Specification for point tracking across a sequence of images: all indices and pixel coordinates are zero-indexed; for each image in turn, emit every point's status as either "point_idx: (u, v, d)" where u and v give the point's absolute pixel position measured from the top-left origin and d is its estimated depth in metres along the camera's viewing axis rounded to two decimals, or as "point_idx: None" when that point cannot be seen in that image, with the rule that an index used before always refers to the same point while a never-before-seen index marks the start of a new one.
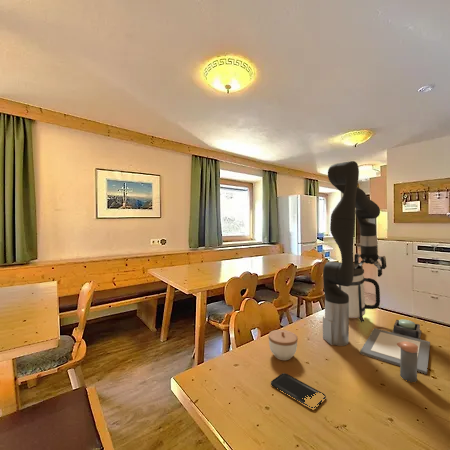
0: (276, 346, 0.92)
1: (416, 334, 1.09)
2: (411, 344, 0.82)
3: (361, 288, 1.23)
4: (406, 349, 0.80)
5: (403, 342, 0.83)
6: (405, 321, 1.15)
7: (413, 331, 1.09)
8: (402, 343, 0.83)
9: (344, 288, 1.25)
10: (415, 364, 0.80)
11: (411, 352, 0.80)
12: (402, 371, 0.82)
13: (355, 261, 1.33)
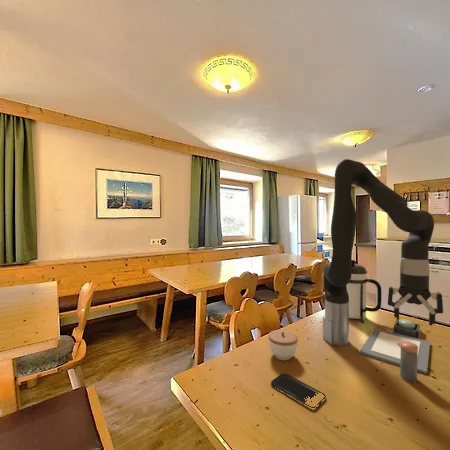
0: (276, 346, 0.92)
1: (416, 334, 1.09)
2: (411, 344, 0.82)
3: (363, 288, 1.25)
4: (406, 349, 0.80)
5: (403, 342, 0.83)
6: (405, 321, 1.15)
7: (413, 331, 1.09)
8: (402, 343, 0.83)
9: (346, 286, 1.27)
10: (415, 364, 0.80)
11: (411, 352, 0.80)
12: (402, 371, 0.82)
13: None
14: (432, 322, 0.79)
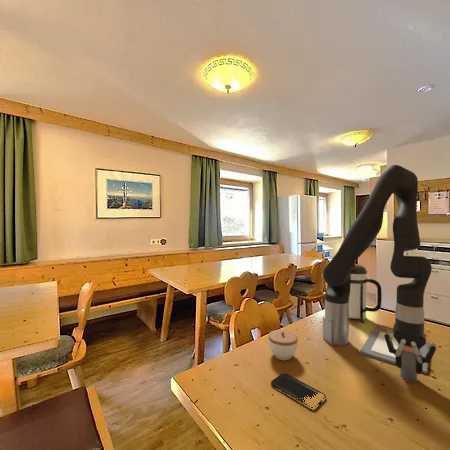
0: (276, 346, 0.92)
1: None
2: None
3: (363, 288, 1.25)
4: (406, 349, 0.80)
5: None
6: None
7: None
8: None
9: None
10: (415, 364, 0.80)
11: (411, 352, 0.80)
12: (402, 371, 0.82)
13: None
14: (419, 371, 0.80)
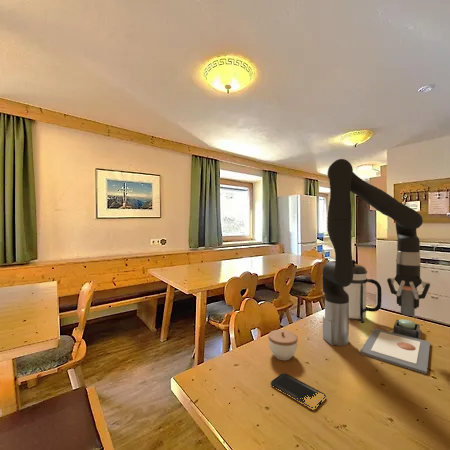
0: (276, 346, 0.92)
1: (416, 334, 1.09)
2: None
3: (363, 288, 1.25)
4: (405, 288, 0.97)
5: None
6: (405, 321, 1.15)
7: (413, 331, 1.09)
8: None
9: None
10: (413, 300, 0.96)
11: (409, 290, 0.96)
12: (402, 307, 0.98)
13: None
14: (416, 306, 0.96)
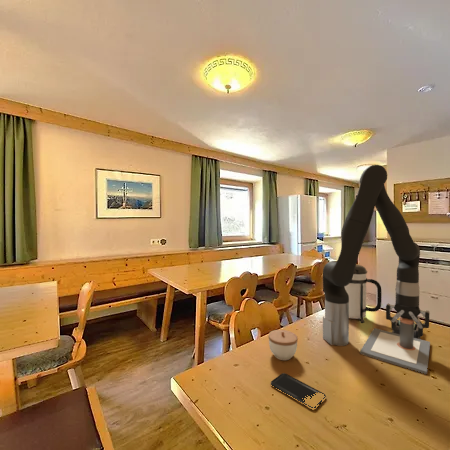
0: (276, 346, 0.92)
1: (416, 334, 1.09)
2: None
3: (363, 288, 1.25)
4: (405, 321, 0.98)
5: None
6: None
7: None
8: (401, 317, 1.00)
9: (346, 286, 1.27)
10: (412, 334, 0.98)
11: (408, 324, 0.97)
12: (401, 340, 0.99)
13: None
14: (420, 335, 0.96)
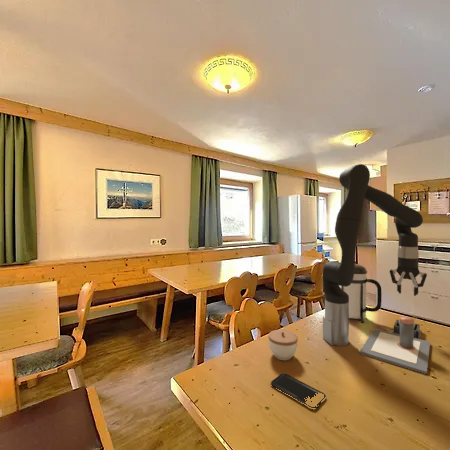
0: (276, 346, 0.92)
1: (416, 334, 1.09)
2: (408, 318, 1.00)
3: (363, 288, 1.25)
4: (404, 321, 0.98)
5: (401, 317, 1.01)
6: None
7: None
8: (401, 317, 1.00)
9: None
10: (412, 334, 0.98)
11: (408, 324, 0.97)
12: (401, 340, 0.99)
13: None
14: (416, 293, 1.11)
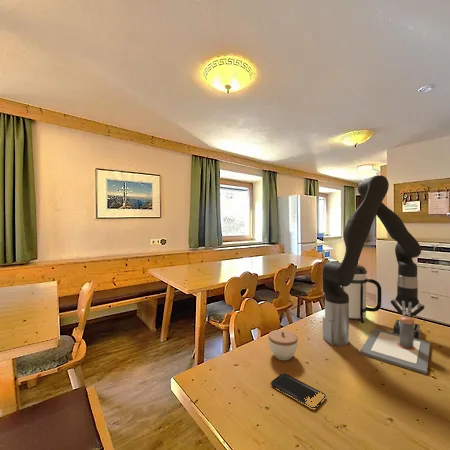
0: (276, 346, 0.92)
1: (416, 334, 1.09)
2: (408, 318, 1.00)
3: (363, 288, 1.25)
4: (405, 321, 0.98)
5: (402, 317, 1.01)
6: None
7: None
8: (401, 317, 1.00)
9: (346, 286, 1.27)
10: (412, 334, 0.98)
11: (408, 324, 0.97)
12: (401, 340, 0.99)
13: None
14: None
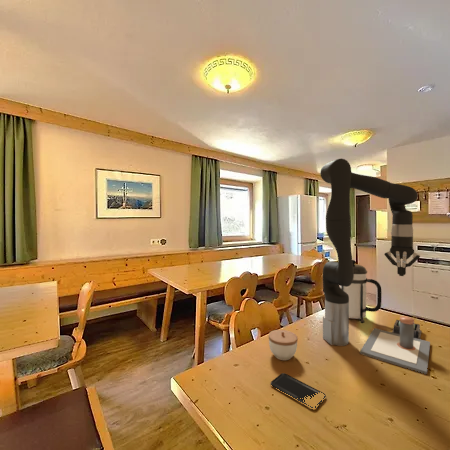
0: (276, 346, 0.92)
1: (416, 334, 1.09)
2: (408, 318, 1.00)
3: (363, 288, 1.25)
4: (405, 321, 0.98)
5: (402, 317, 1.01)
6: None
7: None
8: (401, 317, 1.00)
9: None
10: (412, 334, 0.98)
11: (408, 324, 0.97)
12: (401, 340, 0.99)
13: None
14: (403, 273, 1.07)
